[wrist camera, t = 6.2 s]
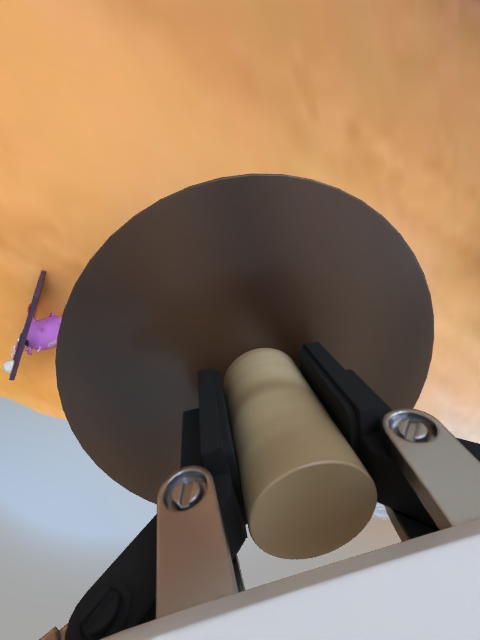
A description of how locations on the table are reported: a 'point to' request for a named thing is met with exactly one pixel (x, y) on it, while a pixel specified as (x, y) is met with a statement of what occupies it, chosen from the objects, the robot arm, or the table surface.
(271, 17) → the table surface
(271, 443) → the basket lid
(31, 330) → the purple toy package
